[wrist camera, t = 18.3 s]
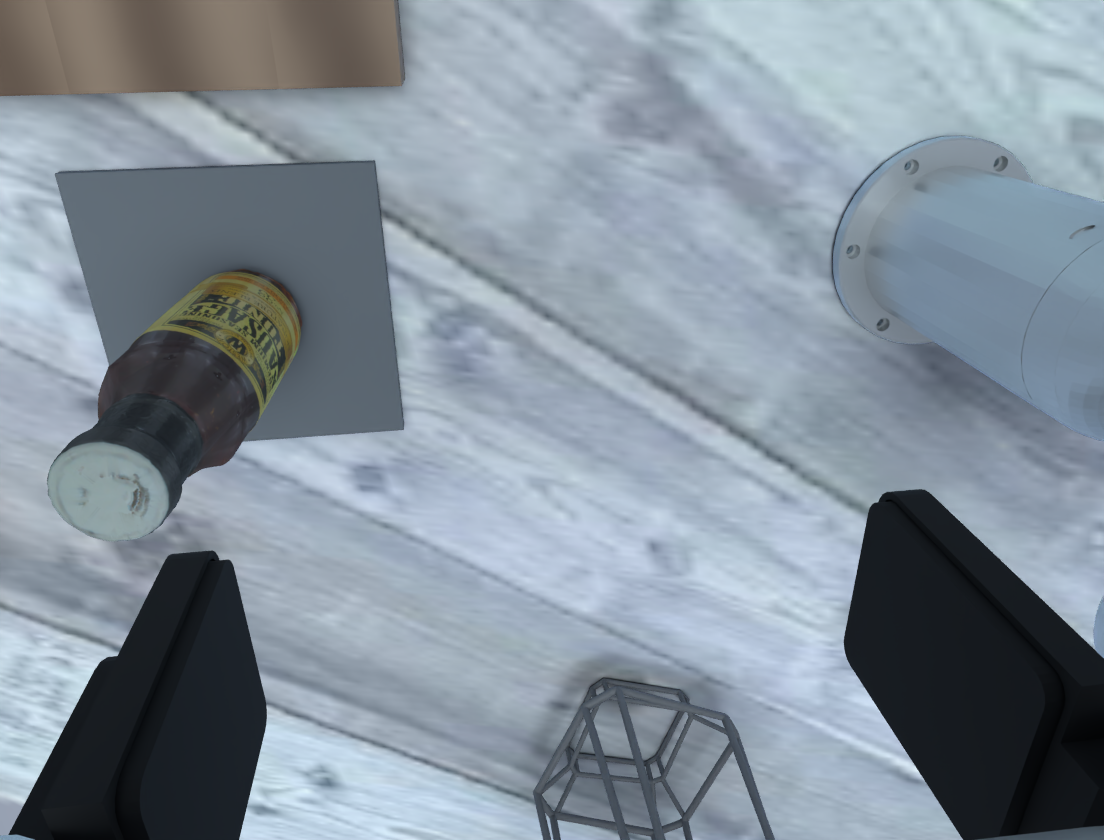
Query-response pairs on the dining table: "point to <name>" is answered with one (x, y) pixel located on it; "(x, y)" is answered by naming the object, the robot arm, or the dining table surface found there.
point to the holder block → (197, 45)
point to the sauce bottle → (177, 404)
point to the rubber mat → (259, 246)
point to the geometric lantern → (639, 763)
